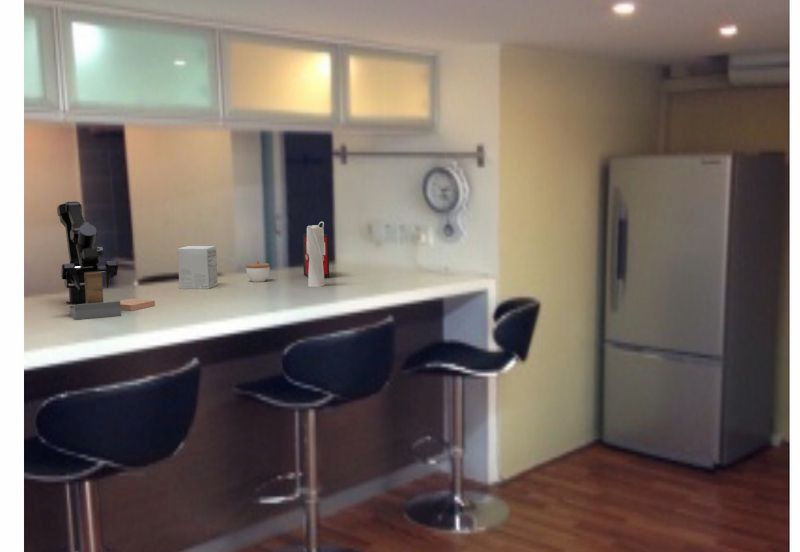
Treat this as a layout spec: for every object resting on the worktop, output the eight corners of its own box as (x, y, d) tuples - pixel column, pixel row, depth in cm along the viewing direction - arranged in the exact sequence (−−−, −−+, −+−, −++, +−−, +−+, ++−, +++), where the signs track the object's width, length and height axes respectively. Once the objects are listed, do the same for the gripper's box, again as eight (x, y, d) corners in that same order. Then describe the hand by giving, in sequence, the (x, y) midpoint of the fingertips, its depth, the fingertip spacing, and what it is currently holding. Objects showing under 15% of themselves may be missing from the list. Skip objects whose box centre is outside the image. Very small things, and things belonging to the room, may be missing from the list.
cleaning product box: (329, 278, 387) (328, 235, 385) (310, 279, 384) (309, 236, 382) (321, 274, 403) (321, 233, 400) (303, 275, 400) (302, 233, 398)
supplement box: (218, 284, 368) (217, 245, 365) (208, 289, 355) (207, 248, 352) (189, 284, 369) (187, 245, 367) (178, 289, 356) (176, 248, 354)
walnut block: (86, 306, 292) (84, 272, 291) (100, 305, 295) (99, 271, 293) (88, 308, 288) (86, 274, 286) (103, 307, 290) (101, 273, 289)
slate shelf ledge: (69, 314, 293) (69, 300, 292) (113, 310, 300) (113, 297, 300) (75, 319, 283) (74, 305, 282) (120, 315, 290) (120, 301, 289)
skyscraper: (328, 285, 363) (327, 221, 360) (322, 287, 356) (321, 222, 352) (311, 284, 365) (310, 221, 362) (305, 287, 358) (303, 222, 355)
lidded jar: (263, 283, 372) (262, 262, 371) (242, 282, 376) (241, 261, 374) (274, 280, 382) (273, 259, 381) (253, 279, 386) (253, 259, 384)
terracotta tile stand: (107, 308, 306) (106, 303, 305) (131, 303, 316) (130, 298, 316) (131, 310, 300) (131, 305, 300) (154, 305, 311) (154, 300, 311)
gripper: (60, 241, 288) (67, 275, 280) (115, 238, 297) (124, 271, 289) (58, 261, 296) (64, 296, 288) (112, 258, 305) (120, 291, 297)
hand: (93, 288), depth 290 cm, fingers open, 9 cm apart
